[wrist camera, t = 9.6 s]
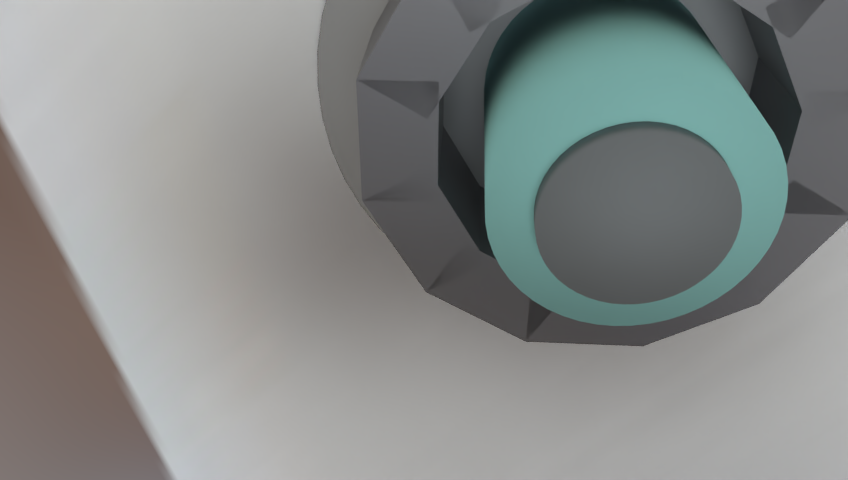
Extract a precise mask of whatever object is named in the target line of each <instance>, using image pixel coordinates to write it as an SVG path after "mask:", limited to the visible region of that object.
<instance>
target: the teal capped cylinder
mask: <svg viewBox="0 0 848 480" xmlns="http://www.w3.org/2000/svg"><path fill="white" fill-rule="evenodd" d="M484 155H485V224H486V230H487V235H488V240H489V243H490V245H491V248H492V251H493V254H494V256H495V258H496V259H497V261H498V263H499V265H500V267H501V268H502V270H503V271H504V272H505V274H506V275H507V277H508V278H509V279H510V280H511V281H512V282H513V284H514V285H515V286H516V287H517V288H518V289H519V290H520V291H521V292H523V293H524V294H525V295H527V296H528V297H529V298H530V299H532V300H533V301H534V302H536V303H538V304H540V305H541V306H543V307H545V308H546V309H548V310H550V311H553V312H555V313H557V314H559V315H562V316H564V317H568V318H571V319H574V320H577V321H581V322H586V323H592V324H597V325H609V326H634V325H643V324H651V323H655V322H660V321H665V320H669V319H672V318H675V317H678V316H681V315H685V314H687V313H689V312H692V311H694V310H696V309H699V308H701V307H703V306H705V305H707V304H708V303H710V302H712V301H714V300H716V299H718V298H719V297H720V296H722V295H723V294H725V293H726V292H728V291H729V290H731V289H732V288H733V287H734V286H736V285H737V284H738V283H739V282H740V281H741V280H743V279H744V278H745V277H746V276H747V275H748V274H749V273H750V272H751V271H752V270H753V268H754V267H755V266H756V265H757V264H758V263H759V262H760V260H761V259H762V258H763V256H764V255H765V253H766V252H767V251H768V249H769V248H770V246H771V244H772V242H773V240H774V238H775V236H776V235H777V233H778V230H779V228H780V225H781V222H782V219H783V217H784V212H785V208H786V203H787V195H788V176H787V167H786V162H785V159H784V155H783V152H782V148H781V146H780V144H779V142H778V140H777V138H776V136H775V134H774V132H773V130H772V129H771V128H770V126H769V125H768V123H767V122H766V120H765V119H764V117H763V116H762V115H761V113H760V112H759V110H758V109H757V107H756V106H755V104H754V103H753V102H752V100H751V99H750V97H749V96H748V94H747V93H746V91H745V90H744V88H743V87H742V86H741V84H740V83H739V81H738V80H737V78H736V77H735V75H734V74H733V73H732V71H731V70H730V68H729V67H728V65H727V64H726V62H725V61H724V59H723V58H722V57H721V55H720V54H719V52H718V51H717V49H716V48H715V46H714V45H713V44H712V42H711V41H710V39H709V38H708V36H707V35H706V33H705V32H704V31H703V29H702V28H701V26H700V25H699V23H698V22H697V20H696V19H695V18H694V16H693V15H692V13H691V12H690V11H689V10H688V9H687V8H686V7H685V6H684V5H683V4H682V3H681V2H680V1H679V0H534V1H533V2H531V3H530V4H529V5H528V6H526V7H525V8H524V9H523V10H521V12H520V13H519V14H518V15H517V16H516V17H515V18H514V19H513V20H512V21H511V22H510V23H509V25H508V26H507V27H506V29H505V30H504V31H503V33H502V34H501V36H500V38H499V40H498V41H497V43H496V45H495V47H494V49H493V52H492V54H491V57H490V59H489V62H488V66H487V70H486V75H485V84H484Z"/></svg>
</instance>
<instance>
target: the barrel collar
mask: <svg viewBox="0 0 848 480" xmlns="http://www.w3.org/2000/svg"><path fill="white" fill-rule="evenodd" d="M533 1H534V0H326V3H325V7H324V11H323V14H322V21H321V28H320V36H319V44H318V91H319V97H320V104H321V111H322V118H323V122H324V125H325V129H326V132H327V136H328V139H329V142H330V146H331V149H332V152H333V154H334V156H335V159H336V161H337V163H338V165H339V168H340V170H341V172H342V174H343V177H344V179H345V180H346V182H347V184H348V185H349V187H350V189H351V190H352V192H353V194H354V195H355V197H356V198H357V200H358V202H359V203H360V205H361V206H362V207H363V209H364V210H365V211H366V212H367V214H368V215H369V216H370V217H371V219H372V220H373V221H374V222H375V224H376V225H377V226H378V227H379V229H381V230H382V231H383V232H384V233H385V234H386V236H387V237H388V238H389V240H390V241H391V243H392V244H393V246H394V247H395V248H396V250H397V251H398V253H399V254H400V256H401V257H402V258H403V260H404V261H405V263H406V264H407V266H408V267H409V268H410V270H411V271H412V273H413V274H414V276H415V277H416V278H417V280H418V281H419V283H420V284H421V285H422V287H423V288H424V290H425V291H426V292H427V293H429V294H431V295H433V296H435V297H437V298H439V299H441V300H443V301H445V302H447V303H449V304H451V305H453V306H455V307H457V308H459V309H461V310H463V311H465V312H467V313H469V314H471V315H473V316H476V317H478V318H480V319H482V320H484V321H486V322H488V323H490V324H492V325H494V326H496V327H498V328H500V329H502V330H504V331H506V332H508V333H510V334H512V335H514V336H516V337H518V338H520V339H522V340H524V341H526V342H550V343H576V344H602V345H628V346H644V345H647V344H650V343H653V342H655V341H658V340H661V339H664V338H666V337H669V336H672V335H675V334H677V333H680V332H683V331H686V330H688V329H691V328H694V327H696V326H699V325H702V324H705V323H707V322H710V321H713V320H716V319H718V318H721V317H724V316H727V315H729V314H732V313H735V312H738V311H740V310H743V309H746V308H749V307H751V306H754V305H757V304H759V303H760V302H761V301H762V300H763V299H765V298H766V297H767V296H768V295H769V294H770V293H771V292H772V291H773V290H774V289H775V288H776V287H777V286H778V285H779V284H781V283H782V282H783V281H784V280H785V279H786V278H787V277H788V276H789V275H790V274H791V273H792V272H793V271H794V270H795V269H796V268H798V267H799V266H800V265H801V264H802V263H803V262H804V261H805V260H806V259H807V258H808V257H809V256H810V255H811V254H812V253H814V252H815V251H816V250H817V249H818V248H819V247H820V246H821V245H822V244H823V243H824V242H825V241H826V240H827V239H828V238H829V237H831V236H832V235H833V234H834V233H835V232H836V231H837V230H838V229H839V228H840V227H841V226H842V225H843V224H844V223H845V222H847V221H848V0H679V1H680V2H681V3H682V4H683V5H684V6H685V7H686V8H687V9H688V10H689V11H690V12H691V13H692V15H693V16H694V18H695V19H696V20H697V22H698V23H699V25H700V26H701V28H702V29H703V31H704V32H705V33H706V35H707V36H708V38H709V39H710V41H711V42H712V44H713V45H714V46H715V48H716V49H717V51H718V52H719V54H720V55H721V57H722V58H723V59H724V61H725V62H726V64H727V65H728V67H729V68H730V70H731V71H732V73H733V74H734V75H735V77H736V78H737V80H738V81H739V83H740V84H741V86H742V87H743V88H744V90H745V91H746V93H747V94H748V96H749V97H750V99H751V100H752V102H753V103H754V104H755V106H756V107H757V109H758V110H759V112H760V113H761V115H762V116H763V117H764V119H765V120H766V122H767V123H768V125H769V126H770V128H771V129H772V130H773V132H774V134H775V136H776V138H777V140H778V142H779V144H780V146H781V148H782V152H783V155H784V159H785V162H786V167H787V176H788V195H787V203H786V208H785V212H784V217H783V219H782V222H781V225H780V228H779V230H778V233H777V235H776V236H775V238H774V240H773V242H772V244H771V246H770V248H769V249H768V251H767V252H766V253H765V255H764V256H763V258H762V259H761V260H760V262H759V263H758V264H757V265H756V266H755V267H754V268H753V270H752V271H751V272H750V273H749V274H748V275H747V276H746V277H745V278H744V279H743V280H741V281H740V282H739V283H738V284H737V285H736V286H734V287H733V288H732V289H731V290H729V291H728V292H726V293H725V294H723V295H722V296H720V297H719V298H718V299H716V300H714V301H712V302H710V303H708V304H707V305H705V306H703V307H701V308H699V309H696V310H694V311H692V312H689V313H687V314H685V315H681V316H678V317H675V318H672V319H669V320H665V321H660V322H655V323H651V324H643V325H634V326H609V325H597V324H592V323H586V322H581V321H577V320H574V319H571V318H568V317H564V316H562V315H559V314H557V313H555V312H553V311H550V310H548V309H546V308H545V307H543V306H541V305H540V304H538V303H536V302H534V301H533V300H532V299H530V298H529V297H528V296H527V295H525V294H524V293H523V292H521V291H520V290H519V289H518V288H517V287H516V286H515V285H514V284H513V282H512V281H511V280H510V279H509V278H508V277H507V275H506V274H505V272H504V271H503V270H502V268H501V267H500V265H499V263H498V261H497V259H496V258H495V256H494V254H493V251H492V248H491V245H490V243H489V240H488V235H487V230H486V224H485V155H484V84H485V75H486V70H487V66H488V62H489V59H490V57H491V54H492V52H493V49H494V47H495V45H496V43H497V41H498V40H499V38H500V36H501V34H502V33H503V31H504V30H505V29H506V27H507V26H508V25H509V23H510V22H511V21H512V20H513V19H514V18H515V17H516V16H517V15H518V14H519V13H520V12H521V10H523V9H524V8H525V7H526V6H528V5H529V4H530V3H531V2H533Z"/></svg>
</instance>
